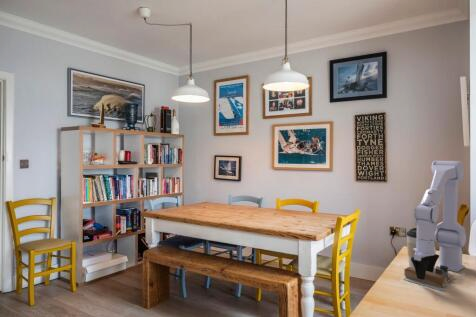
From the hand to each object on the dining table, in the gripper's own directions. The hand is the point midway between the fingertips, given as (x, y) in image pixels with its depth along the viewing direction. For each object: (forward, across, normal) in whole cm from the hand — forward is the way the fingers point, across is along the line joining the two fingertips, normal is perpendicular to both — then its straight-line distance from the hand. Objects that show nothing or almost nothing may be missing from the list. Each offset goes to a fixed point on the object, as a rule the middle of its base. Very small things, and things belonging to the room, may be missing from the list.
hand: (424, 276), depth 119 cm
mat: (+2, 0, 0) cm, 2 cm away
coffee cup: (+2, -16, -8) cm, 19 cm away
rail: (+2, 0, 0) cm, 2 cm away
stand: (+2, -8, 0) cm, 8 cm away
